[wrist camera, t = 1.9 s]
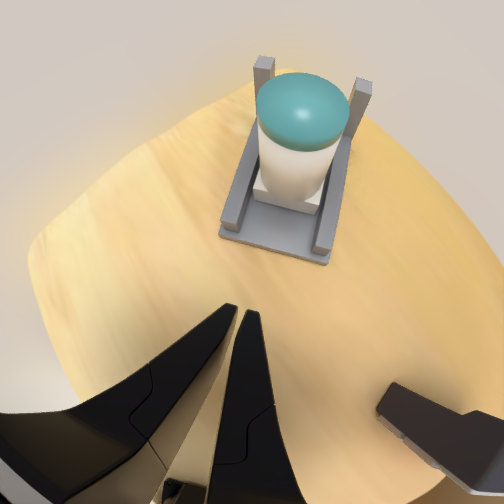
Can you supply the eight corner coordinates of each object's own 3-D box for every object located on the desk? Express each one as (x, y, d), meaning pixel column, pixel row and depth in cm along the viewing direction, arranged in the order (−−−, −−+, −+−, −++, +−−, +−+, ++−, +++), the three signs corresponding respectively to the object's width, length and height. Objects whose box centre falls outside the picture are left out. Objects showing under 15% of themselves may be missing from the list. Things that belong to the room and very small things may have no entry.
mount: (325, 265, 23) (360, 238, 14) (220, 237, 23) (194, 194, 15) (348, 145, 25) (376, 83, 16) (258, 123, 26) (254, 55, 17)
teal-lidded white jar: (312, 219, 22) (346, 150, 12) (252, 204, 23) (242, 125, 12) (324, 169, 23) (354, 85, 13) (267, 155, 24) (267, 65, 13)
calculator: (368, 416, 20) (464, 505, 5) (395, 374, 20) (518, 425, 6) (441, 445, 18) (530, 502, 3) (463, 410, 19) (564, 448, 4)
